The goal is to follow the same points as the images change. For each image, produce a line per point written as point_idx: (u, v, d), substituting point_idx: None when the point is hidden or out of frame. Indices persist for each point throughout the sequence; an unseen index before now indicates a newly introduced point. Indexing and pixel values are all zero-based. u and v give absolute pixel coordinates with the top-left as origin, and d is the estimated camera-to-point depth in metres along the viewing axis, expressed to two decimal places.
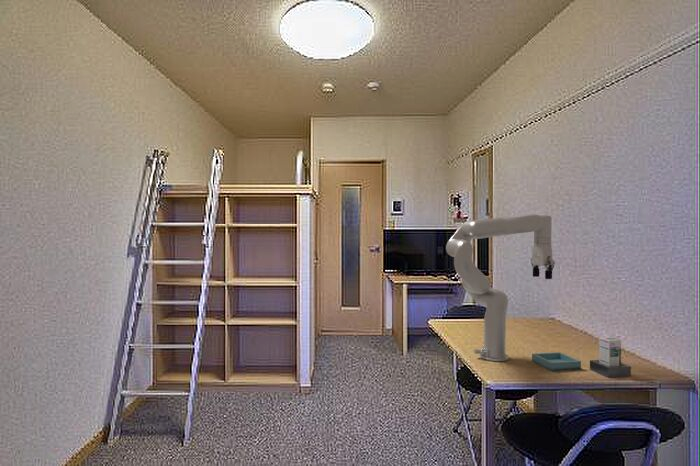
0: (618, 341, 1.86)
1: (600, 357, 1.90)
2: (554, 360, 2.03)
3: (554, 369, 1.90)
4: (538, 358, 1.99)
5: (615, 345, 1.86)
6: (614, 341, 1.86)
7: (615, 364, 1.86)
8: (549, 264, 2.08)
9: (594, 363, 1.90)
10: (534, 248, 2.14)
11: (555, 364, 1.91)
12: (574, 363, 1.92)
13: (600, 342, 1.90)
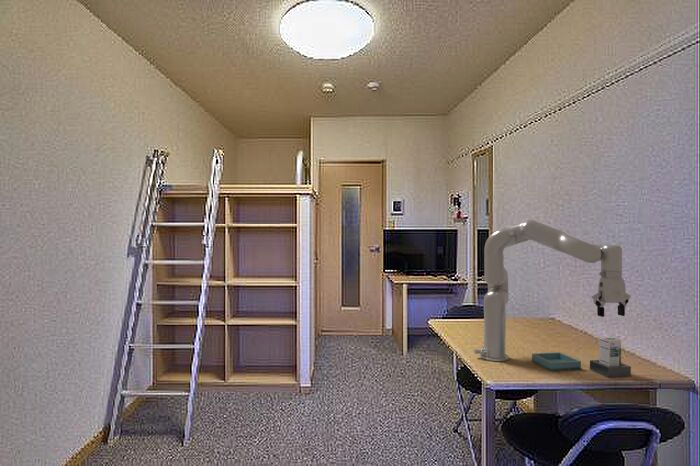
0: (618, 341, 1.86)
1: (600, 357, 1.90)
2: (554, 360, 2.03)
3: (554, 369, 1.90)
4: (538, 358, 1.99)
5: (614, 345, 1.86)
6: (614, 341, 1.86)
7: (615, 364, 1.86)
8: None
9: (594, 363, 1.90)
10: (611, 283, 1.85)
11: (555, 364, 1.91)
12: (574, 363, 1.92)
13: (600, 342, 1.90)
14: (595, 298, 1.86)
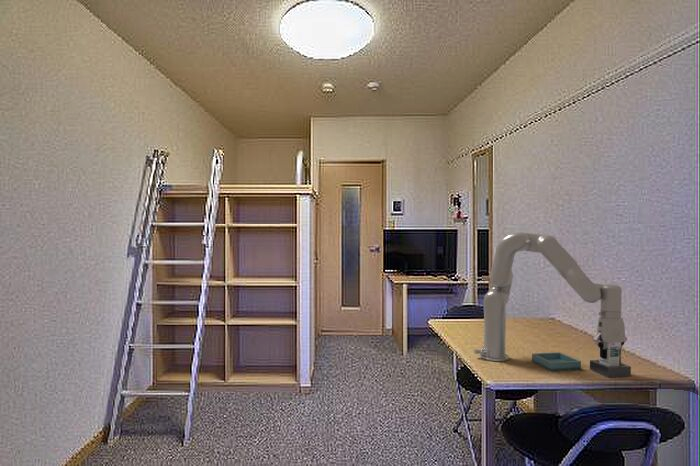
0: None
1: (600, 357, 1.90)
2: (554, 360, 2.03)
3: (554, 369, 1.90)
4: (538, 358, 1.99)
5: (614, 345, 1.86)
6: None
7: (615, 364, 1.86)
8: None
9: (594, 363, 1.90)
10: (610, 324, 1.85)
11: (555, 364, 1.91)
12: (574, 363, 1.92)
13: None
14: (597, 341, 1.86)
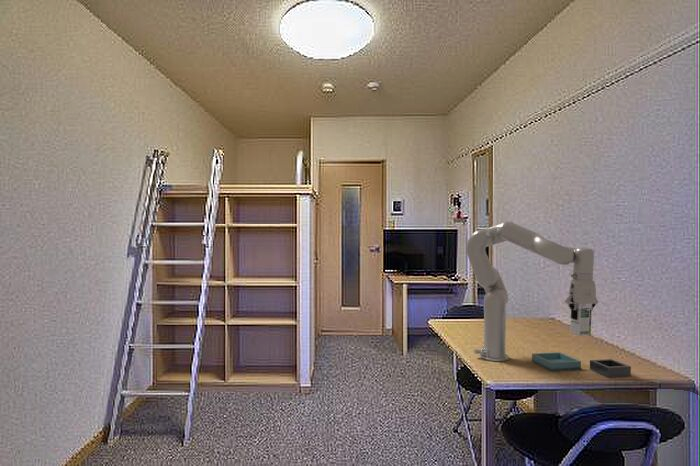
0: None
1: (571, 318, 1.95)
2: (554, 360, 2.03)
3: (554, 369, 1.90)
4: (538, 358, 1.99)
5: (585, 306, 1.90)
6: None
7: (585, 325, 1.91)
8: None
9: (594, 363, 1.90)
10: (581, 285, 1.90)
11: (555, 364, 1.91)
12: (574, 363, 1.92)
13: None
14: (568, 302, 1.91)
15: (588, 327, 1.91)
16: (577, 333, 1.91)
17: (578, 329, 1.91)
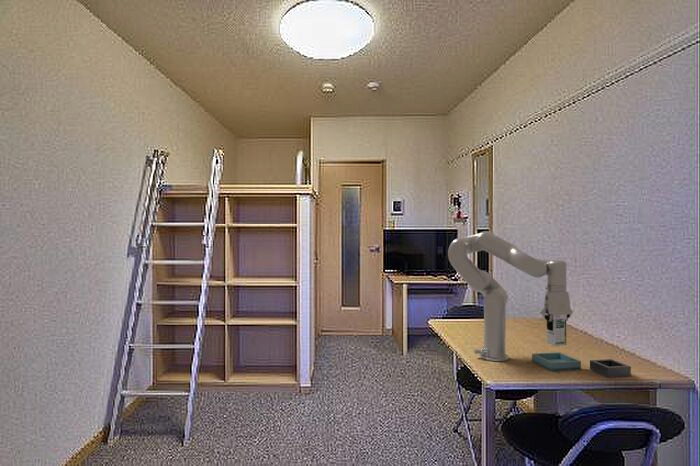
0: None
1: (547, 329, 1.99)
2: (554, 360, 2.03)
3: (554, 369, 1.90)
4: (538, 358, 1.99)
5: (560, 317, 1.95)
6: None
7: (560, 335, 1.95)
8: None
9: (594, 363, 1.90)
10: (555, 297, 1.95)
11: (555, 364, 1.91)
12: (574, 363, 1.92)
13: None
14: (543, 314, 1.96)
15: (563, 337, 1.95)
16: (553, 344, 1.96)
17: (554, 340, 1.95)
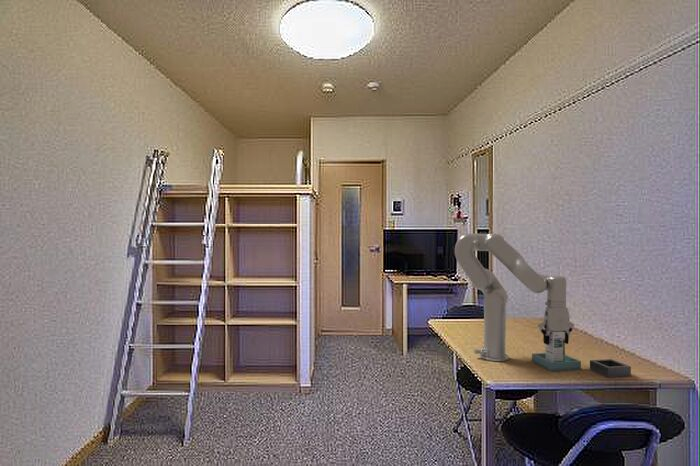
0: (562, 333, 1.96)
1: (546, 348, 2.00)
2: None
3: (554, 369, 1.90)
4: (538, 358, 1.99)
5: (558, 337, 1.95)
6: (558, 333, 1.96)
7: (559, 354, 1.95)
8: None
9: (594, 363, 1.90)
10: (555, 313, 1.95)
11: (555, 364, 1.91)
12: (574, 363, 1.92)
13: None
14: (541, 327, 1.96)
15: (562, 357, 1.96)
16: None
17: (552, 359, 1.96)
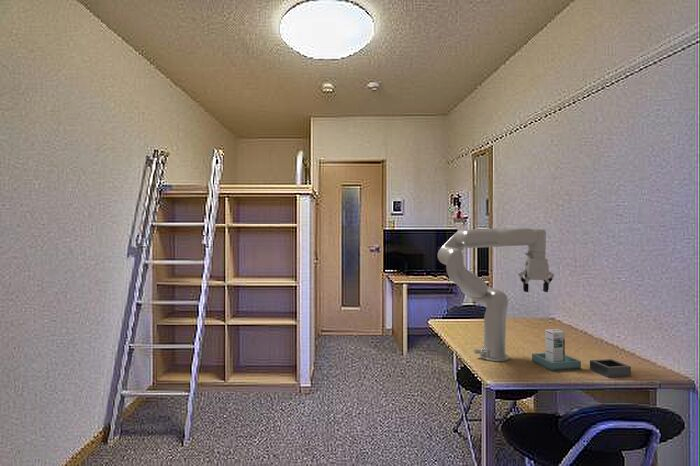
0: (562, 333, 1.96)
1: (546, 348, 2.00)
2: None
3: (554, 369, 1.90)
4: (538, 358, 1.99)
5: (558, 337, 1.95)
6: (558, 333, 1.96)
7: (559, 354, 1.95)
8: None
9: (594, 363, 1.90)
10: (534, 263, 2.09)
11: (555, 364, 1.91)
12: (574, 363, 1.92)
13: (546, 334, 2.00)
14: (520, 275, 2.10)
15: (562, 357, 1.96)
16: None
17: (552, 359, 1.96)
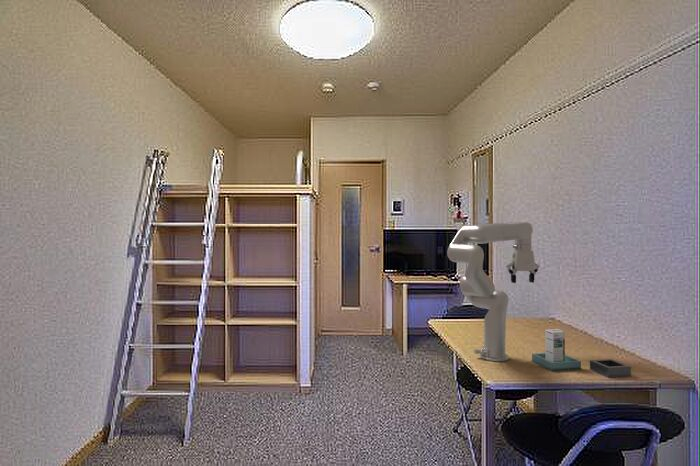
0: (562, 333, 1.96)
1: (546, 348, 2.00)
2: None
3: (554, 369, 1.90)
4: (538, 358, 1.99)
5: (558, 337, 1.95)
6: (558, 332, 1.96)
7: (559, 354, 1.95)
8: None
9: (594, 363, 1.90)
10: (521, 255, 2.19)
11: (555, 364, 1.91)
12: (574, 363, 1.92)
13: (546, 334, 2.00)
14: (508, 267, 2.20)
15: (562, 357, 1.96)
16: None
17: (552, 359, 1.96)
